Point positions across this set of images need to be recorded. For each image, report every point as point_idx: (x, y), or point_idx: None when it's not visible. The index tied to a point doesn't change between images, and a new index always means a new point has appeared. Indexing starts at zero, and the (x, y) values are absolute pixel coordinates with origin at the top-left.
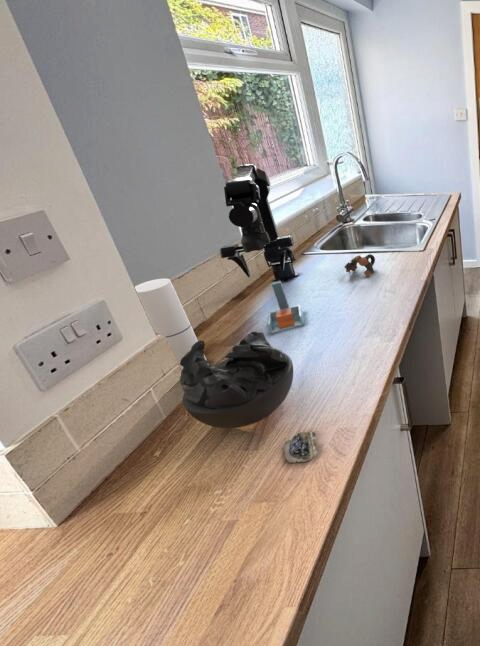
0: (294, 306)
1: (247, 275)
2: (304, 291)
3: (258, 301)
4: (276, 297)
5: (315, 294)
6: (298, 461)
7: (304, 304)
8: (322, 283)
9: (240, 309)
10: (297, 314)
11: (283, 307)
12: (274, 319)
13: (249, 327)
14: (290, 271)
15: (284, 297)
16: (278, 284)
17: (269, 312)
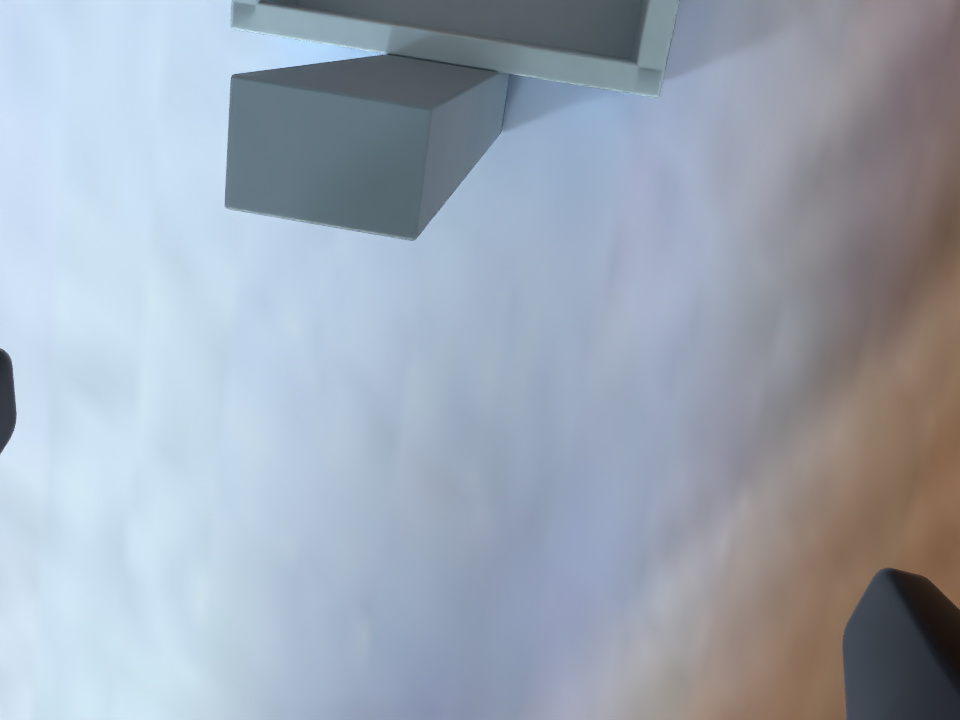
0: (308, 31)
1: (947, 603)
2: (202, 608)
3: (664, 717)
4: (470, 82)
5: (97, 450)
6: None
7: (235, 279)
8: (10, 660)
9: None
10: (336, 1)
11: (447, 63)
12: (612, 56)
13: (907, 120)
14: None
15: (354, 61)
16: (298, 77)
17: (645, 89)
